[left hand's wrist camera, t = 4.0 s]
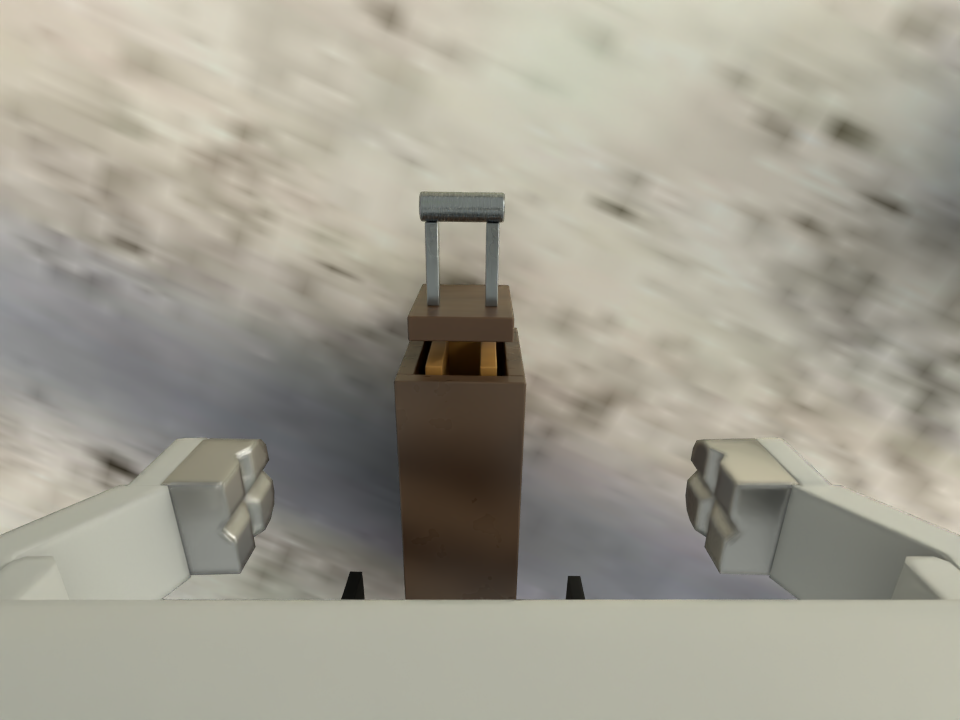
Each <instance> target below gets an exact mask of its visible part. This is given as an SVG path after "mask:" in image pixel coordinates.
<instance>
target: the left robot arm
mask: <svg viewBox="0 0 960 720" xmlns="http://www.w3.org/2000/svg"><path fill="white" fill-rule="evenodd" d="M268 461H269V457H268V452H267V447H266V444H265V443H264V442H263V441H262V440H261V439H224V438H209V439H208V438H182V439H176V440H175V441H174V442H173V443H172V444H171V445H170V446H169V447H168V448H167V449H166V450H165V451H164V452H163V453H162V454H160V455H159V456H158V457H157V458H156V459H155V460H154V461H153V462H152V463H151V464H150V465H149V466H148V467H147V468H146V469H145V470H144V471H143V472H141V473H140V474H139V475H138V476H137V477H136V478H135V479H134V480H133V481H132V482H131V483H130V484H129V485H119V486H116V487H114V488H112V489H109V490H107V491H104V492H102V493H100V494H97V495H95V496H92V497H90V498H88V499H85V500H83V501H80V502H78V503H76V504H73V505H71V506H69V507H66V508H64V509H61V510H59V511H57V512H54V513H52V514H49V515H47V516H45V517H42V518H40V519H37V520H35V521H33V522H30V523H28V524H25V525H23V526H21V527H18V528H16V529H14V530H11V531H9V532H6V533H4V534H2V535H0V720H960V535H958V534H956V533H953V532H951V531H949V530H946V529H944V528H941V527H939V526H937V525H934V524H932V523H929V522H927V521H925V520H922V519H920V518H918V517H915V516H913V515H910V514H908V513H906V512H903V511H901V510H898V509H896V508H894V507H891V506H889V505H887V504H884V503H882V502H879V501H877V500H875V499H872V498H870V497H867V496H865V495H863V494H860V493H858V492H856V491H853V490H851V489H848V488H846V487H844V486H841V485H831V484H830V483H829V482H828V481H827V480H826V479H825V478H824V477H823V476H822V475H821V474H820V473H819V472H818V471H817V470H815V469H814V468H813V467H812V466H811V465H810V464H809V463H808V462H807V461H806V460H805V459H804V458H803V457H802V456H801V455H800V454H799V453H798V452H796V451H795V450H794V449H793V448H792V447H791V446H790V445H789V444H788V443H787V442H786V441H785V440H783V439H780V438H745V439H704V440H697V441H696V443H695V445H694V447H693V451H692V457H691V461H692V462H693V464H694V466H695V467H696V469H697V471H696V472H695V473H694V474H693V475H692V476H691V477H690V478H689V479H688V480H687V488H686V495H685V496H686V507H687V512H688V516H689V519H690V521H691V523H692V525H693V527H694V529H695V530H696V531H698V532H699V533H701V534H702V535H704V536H705V537H706V542H705V548H706V550H707V552H708V554H709V555H710V557H711V559H712V561H713V562H714V564H715V566H716V568H717V569H718V571H719V573H720V574H750V575H770V576H769V577H770V578H771V579H772V580H774V581H775V582H776V583H778V584H779V585H780V586H782V587H783V588H784V589H786V590H787V591H788V592H790V593H791V594H792V595H793V596H795V597H796V598H797V599H799V600H161V599H163V598H164V597H165V596H167V595H168V594H169V593H171V592H172V591H173V590H175V589H176V588H177V587H179V586H180V585H181V584H183V583H184V582H185V581H186V580H188V579H189V578H190V575H209V574H240V573H241V571H242V569H243V568H244V566H245V564H246V562H247V561H248V559H249V557H250V555H251V554H252V552H253V550H254V548H255V542H254V537H255V536H256V535H258V534H259V533H261V532H262V531H264V530H265V529H266V527H267V525H268V523H269V521H270V519H271V516H272V511H273V507H274V487H273V480H272V479H271V478H270V477H269V476H268V475H267V474H266V473H265V472H264V471H263V469H264V467H265V466H266V464H267V462H268Z"/></svg>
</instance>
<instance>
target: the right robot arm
mask: <svg viewBox="0 0 960 720" xmlns="http://www.w3.org/2000/svg"><path fill="white" fill-rule="evenodd" d="M341 600H365V598H364V587H363V576H362V572H350V574H349V577H348V580H347V583H346V586H345V589H344V592H343V595H342V598H341ZM566 600H585V597H584V592H583V587H582V583H581V578H580V576H568V582H567V593H566Z"/></svg>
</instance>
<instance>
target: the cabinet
mask: <svg viewBox="0 0 960 720" xmlns="http://www.w3.org/2000/svg"><path fill="white" fill-rule="evenodd" d="M431 345H432V341H410V342H409V345H408V347H407V350H406V352H405V355H404V358H403V360H402V363H401V365H400V368H399V370H398V373H397V376H396V378H395V381H394V391H395V410H396V429H397V448H398V467H399V486H400V504H401V523H402V542H403V561H404V580H405V599H406V600H516V590H517V569H518V547H519V526H520V504H521V483H522V461H523V440H524V418H525V397H526V380H525V374H524V368H523V362H522V356H521V350H520V344H519V338H518V332H517V328H514V337H513V342H496V359H497V376H462V375H425V366H426V363H427V359H428V355H429V352H430V348H431Z"/></svg>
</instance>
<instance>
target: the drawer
mask: <svg viewBox="0 0 960 720" xmlns="http://www.w3.org/2000/svg"><path fill="white" fill-rule="evenodd" d="M504 213H505V194H504V193H485V192H421V193H420V196H419V214H420V219H421V221H426V222H425V245H426V283H427V284H423V285H422V287H421V289H420V291H419V294H418V296H417V298H416V300H415V302H414V304H413V307H412V309H411V311H410V313H409V315H408V317H407V318H408V339H409V341H432V345H431V348H430V352H429V355H428V359H427V363H426V366H425V375H462V376H497V359H496V342H513V337H514V315H513V309H512V302H511V296H510V290H509V286H508V285H498V269H499V227H500V224H499V222H504ZM439 222H486V282H485V285H451V284H440V257H439Z"/></svg>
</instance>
